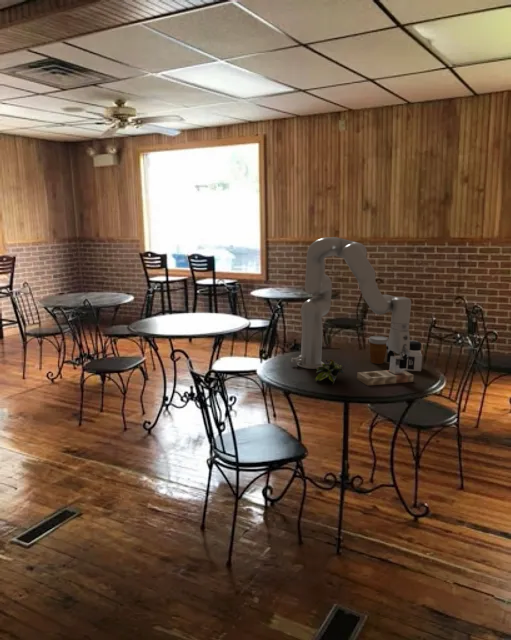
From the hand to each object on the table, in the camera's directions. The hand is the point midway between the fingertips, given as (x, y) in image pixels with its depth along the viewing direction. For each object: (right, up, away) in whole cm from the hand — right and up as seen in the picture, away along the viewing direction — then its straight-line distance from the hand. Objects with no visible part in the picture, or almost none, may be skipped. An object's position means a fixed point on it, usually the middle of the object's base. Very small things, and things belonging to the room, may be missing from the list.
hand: (396, 365), depth 229 cm
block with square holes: (-5, -7, -1) cm, 8 cm away
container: (+12, -3, +18) cm, 22 cm away
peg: (0, -6, +1) cm, 6 cm away
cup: (+10, -1, +30) cm, 32 cm away
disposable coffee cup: (-2, -1, +28) cm, 28 cm away
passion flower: (-29, -7, -4) cm, 30 cm away
